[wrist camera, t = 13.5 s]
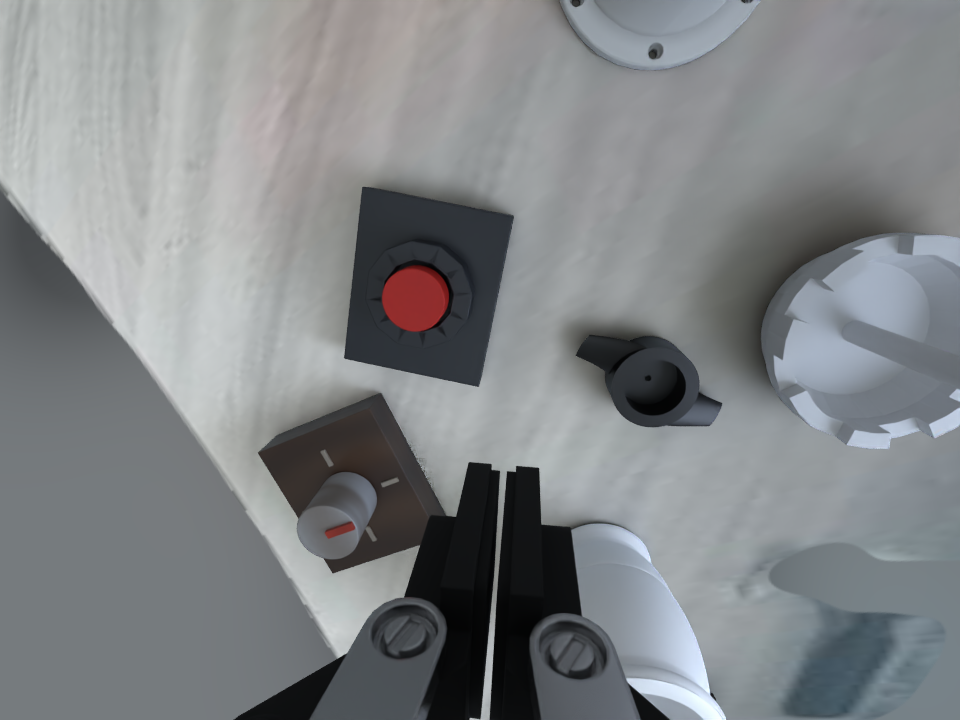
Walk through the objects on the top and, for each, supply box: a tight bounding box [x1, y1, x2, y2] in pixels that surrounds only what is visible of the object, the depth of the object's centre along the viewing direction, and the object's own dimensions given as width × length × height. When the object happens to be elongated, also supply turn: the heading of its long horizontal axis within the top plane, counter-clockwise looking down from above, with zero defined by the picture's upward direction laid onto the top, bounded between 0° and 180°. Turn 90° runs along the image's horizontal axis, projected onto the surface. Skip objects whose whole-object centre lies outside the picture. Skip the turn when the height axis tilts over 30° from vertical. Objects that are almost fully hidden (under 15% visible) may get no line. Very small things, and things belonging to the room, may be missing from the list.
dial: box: [297, 472, 377, 559], centre depth 36 cm, size 4×4×5 cm
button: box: [382, 265, 449, 332], centre depth 31 cm, size 4×4×2 cm
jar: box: [571, 523, 726, 720], centre depth 34 cm, size 11×10×15 cm
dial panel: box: [258, 393, 446, 573], centre depth 40 cm, size 12×10×3 cm
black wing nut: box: [576, 335, 722, 427], centre depth 35 cm, size 8×10×3 cm
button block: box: [344, 187, 514, 387], centre depth 34 cm, size 12×10×4 cm
